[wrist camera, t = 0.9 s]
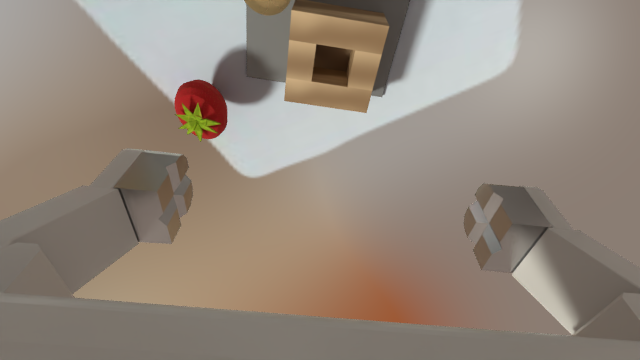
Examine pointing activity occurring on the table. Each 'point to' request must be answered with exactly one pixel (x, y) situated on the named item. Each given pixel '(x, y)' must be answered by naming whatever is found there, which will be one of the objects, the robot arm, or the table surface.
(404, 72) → the table surface
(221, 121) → the strawberry
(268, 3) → the round bit
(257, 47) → the mat
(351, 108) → the socket block
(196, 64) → the table surface
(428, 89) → the table surface
